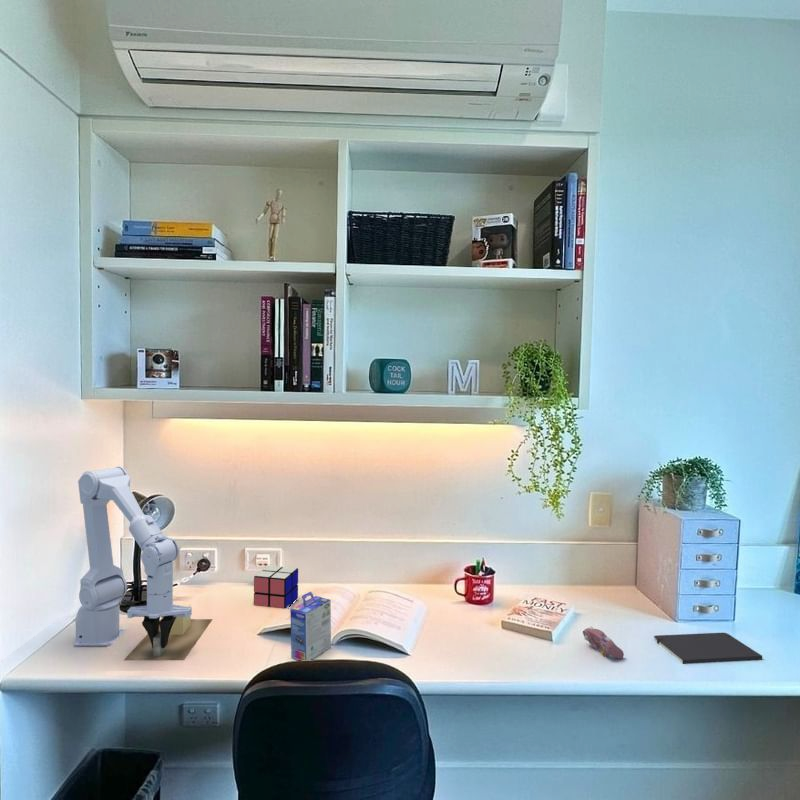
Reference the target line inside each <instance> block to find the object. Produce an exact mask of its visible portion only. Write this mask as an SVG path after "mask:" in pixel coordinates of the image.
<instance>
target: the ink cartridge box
mask: <svg viewBox="0 0 800 800" xmlns="http://www.w3.org/2000/svg"><path fill="white" fill-rule="evenodd" d="M307 597H310V598H308V599H307V600H306V598H307ZM301 599H302V601H303V602H302V603H300V604H298V605H296V606H295V607H292V608H291V609H289V610H290V611H289V612H290V613H289V614H290V650H291V652H290V653H291V659H294V660H296V661H299V660H310V661H312V660H314V659H315V658H316V657H318V656H320V654H322V653H324V652H326V651H327V650H328V649H330V648H331V646H332V621H331V620H332V617H331V616H332V612H331V609H332V608H331V603H332V602H331V599H329V598H324V597H321V596H318V595H313V592H312V591H309V592H307V593H304V594H302V595H301ZM311 659H312V660H311Z"/></svg>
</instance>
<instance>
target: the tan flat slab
mask: <svg viewBox="0 0 800 800" xmlns="http://www.w3.org/2000/svg"><path fill="white" fill-rule="evenodd" d="M161 620H162V618H160V621H161ZM160 621H159V622H160ZM212 621H213V619H211V618H206V619H205V618H200V619H199V618H197V619H196V618H191V622H190V627H189V628H188V629H187V630H186V632H185V633H184V634H183V635H169V638H168V643H167V645H166V647H165V648H161V630H160V625H159V632H158V633H157V635H156V636H155V637H154V638H153V648H152V644H151V641H150V638H149V635H148V633H147V634H146V635H145V636H144V637H143V638H142V639H141V640H140V642H138V644H137V645H136V646H134V648H133V649H132V650H131V651H130V652H129V654H127V656H126V657H125V658H124V659H123V661H185V660H186V659H187V656H188V655H189V654H190V653H191V652H192V649H193V648H194V647H195V645H197V642H198V641H199V640H200V638H201V637H202V636H203V634H204V632H205V631H206V630H207V629H208V627H209V625H210V624H211V623H212Z"/></svg>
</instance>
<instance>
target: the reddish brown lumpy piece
mask: <svg viewBox="0 0 800 800" xmlns="http://www.w3.org/2000/svg"><path fill="white" fill-rule="evenodd" d="M582 635H583V638H584V640H585V641H587V642H588V643H589V644H590V645H591V647H592V648H593V649H594V650H595V651H598V650H599V651H600V653H601V655H603V657H607V656H608V655H610V656H611V657H612V658H614V659H616V660H622V659H624V656H625V654H624V651H623V650H622V649H621V648H620V647H618V646H617V644H615V642H614V641H613V640H612V639H611V638H610V637H609V636H607V635H606V634H605V632H603V631H602V630H601V629H597V628H594V627H592V626H590V627H588V628H585V629H584V630H583V631H582Z"/></svg>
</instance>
